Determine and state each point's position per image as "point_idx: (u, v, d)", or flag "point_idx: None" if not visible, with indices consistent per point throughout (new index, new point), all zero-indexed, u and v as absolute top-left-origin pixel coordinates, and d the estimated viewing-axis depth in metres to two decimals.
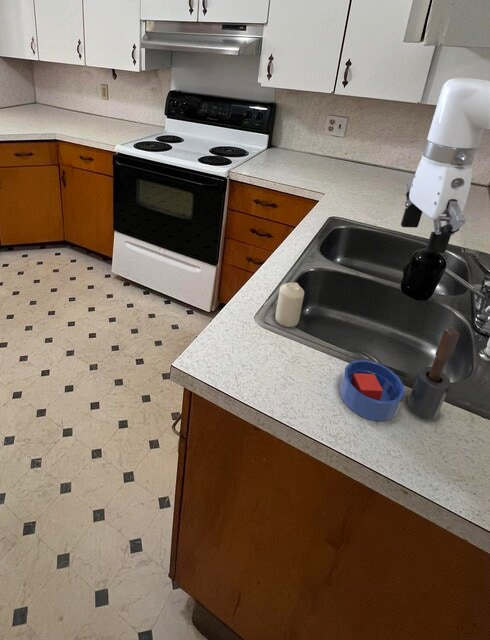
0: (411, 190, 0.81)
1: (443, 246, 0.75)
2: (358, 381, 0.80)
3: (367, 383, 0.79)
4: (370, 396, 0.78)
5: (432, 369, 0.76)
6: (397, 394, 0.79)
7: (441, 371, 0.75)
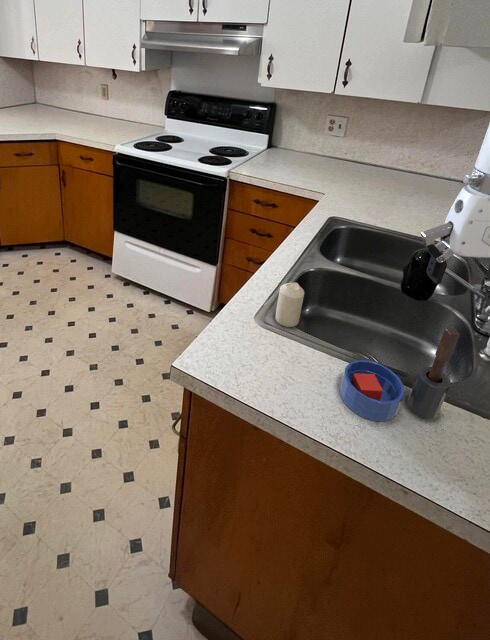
0: None
1: (431, 271, 0.69)
2: (358, 381, 0.80)
3: (367, 383, 0.79)
4: (370, 396, 0.78)
5: (432, 369, 0.76)
6: (397, 394, 0.79)
7: (441, 371, 0.75)
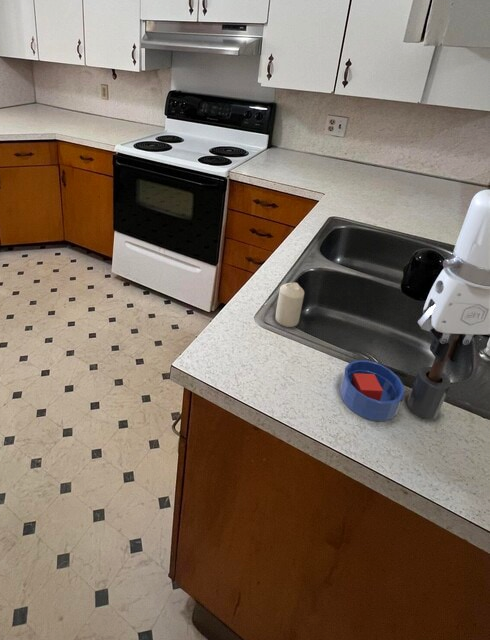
0: None
1: (434, 350, 0.73)
2: (358, 381, 0.80)
3: (367, 383, 0.79)
4: (370, 396, 0.78)
5: (432, 369, 0.76)
6: (397, 394, 0.79)
7: (441, 371, 0.75)
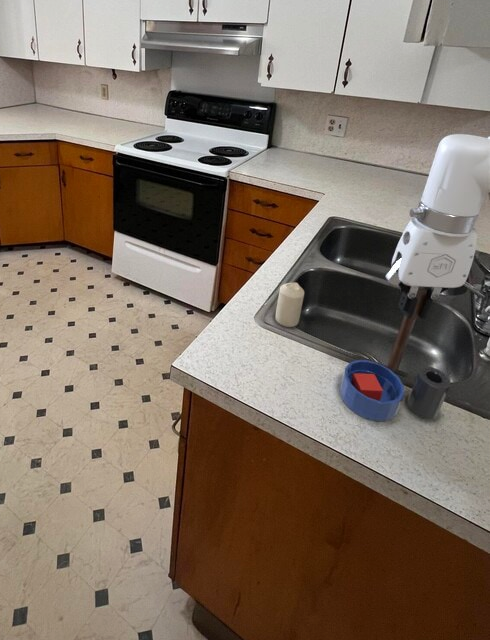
0: None
1: (402, 306, 0.71)
2: (358, 381, 0.80)
3: (367, 383, 0.79)
4: (370, 396, 0.78)
5: (401, 327, 0.74)
6: (397, 394, 0.79)
7: (410, 329, 0.73)
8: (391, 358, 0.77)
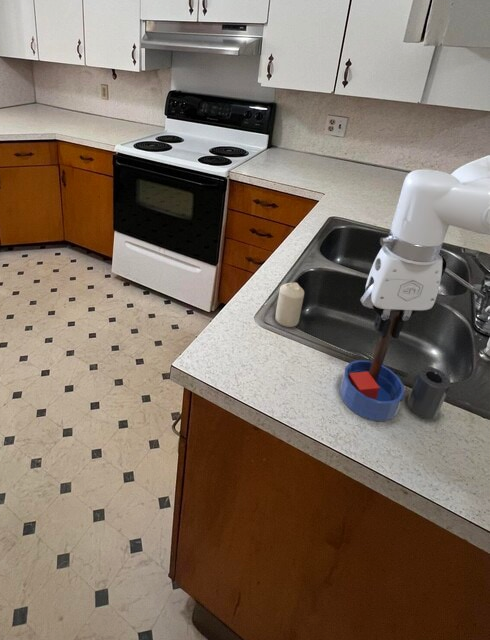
0: None
1: (377, 326, 0.76)
2: (354, 381, 0.80)
3: (363, 382, 0.79)
4: (368, 394, 0.79)
5: (377, 346, 0.79)
6: (397, 394, 0.79)
7: (385, 347, 0.78)
8: None
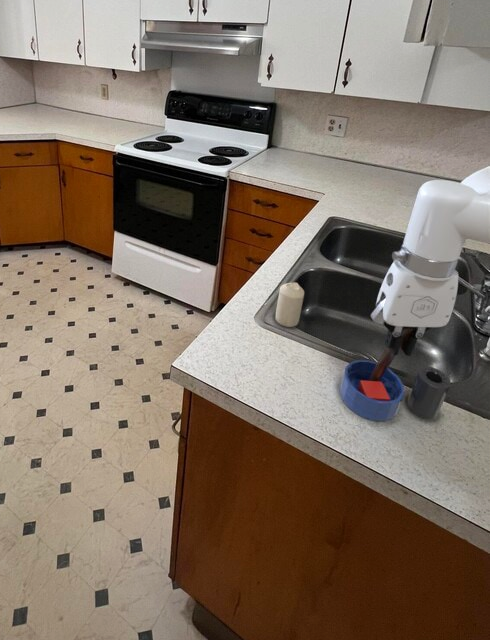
0: None
1: (388, 343, 0.73)
2: (364, 389, 0.78)
3: (374, 391, 0.78)
4: None
5: (384, 354, 0.76)
6: (397, 394, 0.79)
7: (392, 357, 0.75)
8: (372, 376, 0.81)
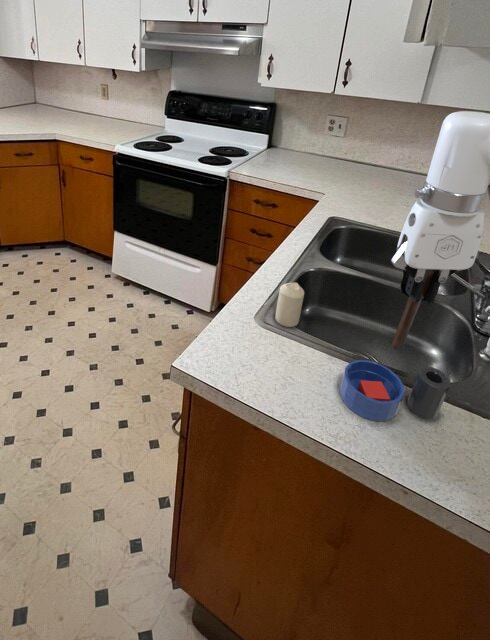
0: None
1: (409, 290, 0.70)
2: (364, 389, 0.78)
3: (374, 391, 0.78)
4: None
5: (406, 308, 0.73)
6: (397, 394, 0.79)
7: (415, 310, 0.72)
8: (395, 338, 0.77)
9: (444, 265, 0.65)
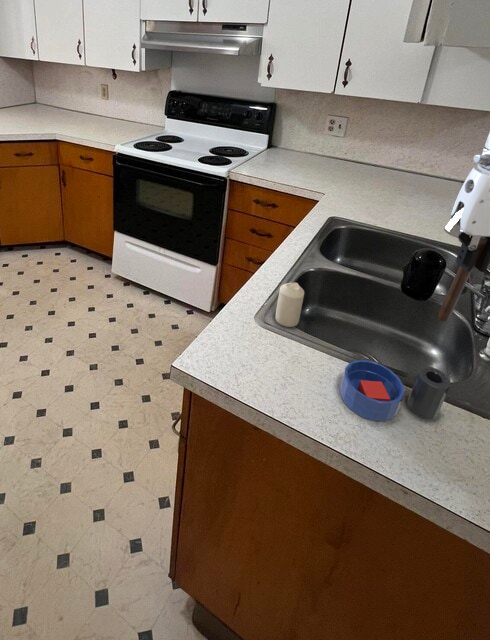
0: None
1: (461, 259, 0.70)
2: (364, 389, 0.78)
3: (374, 391, 0.78)
4: None
5: (455, 278, 0.73)
6: (397, 394, 0.79)
7: (465, 280, 0.72)
8: (442, 309, 0.77)
9: None
